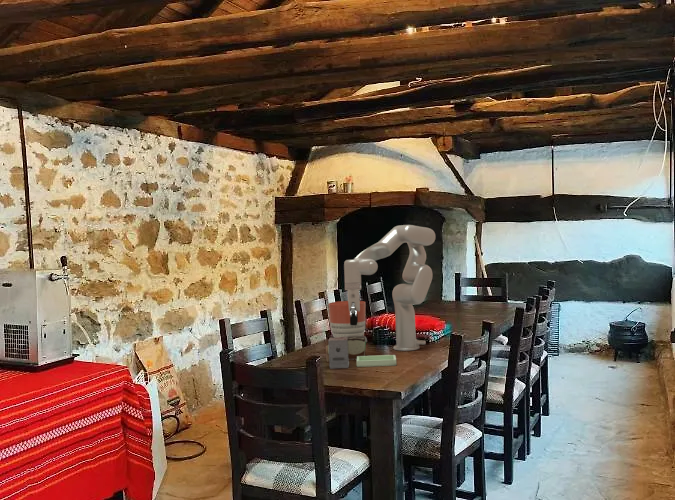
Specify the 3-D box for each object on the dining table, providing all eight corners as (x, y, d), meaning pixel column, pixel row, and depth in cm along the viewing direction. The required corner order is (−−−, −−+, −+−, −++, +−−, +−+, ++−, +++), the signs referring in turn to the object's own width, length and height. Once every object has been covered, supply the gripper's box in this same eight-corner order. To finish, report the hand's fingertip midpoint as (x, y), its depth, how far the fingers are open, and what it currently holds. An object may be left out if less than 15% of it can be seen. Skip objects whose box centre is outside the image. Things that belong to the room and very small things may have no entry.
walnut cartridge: (337, 359, 279) (337, 344, 278) (337, 362, 274) (336, 346, 273) (326, 360, 279) (326, 345, 279) (326, 362, 274) (325, 347, 274)
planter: (365, 339, 331) (364, 300, 330) (368, 345, 311) (366, 303, 311) (329, 341, 330) (328, 301, 330) (330, 347, 311) (328, 305, 310)
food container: (371, 357, 281) (370, 335, 281) (367, 359, 276) (366, 337, 276) (345, 356, 286) (344, 335, 285) (341, 359, 280) (340, 337, 280)
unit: (349, 364, 268) (347, 336, 268) (348, 368, 259) (347, 340, 259) (330, 364, 268) (328, 337, 268) (328, 369, 260) (327, 340, 259)
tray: (395, 360, 271) (395, 354, 271) (396, 365, 260) (396, 359, 260) (357, 361, 272) (356, 356, 272) (356, 367, 261) (356, 361, 261)
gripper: (360, 287, 271) (362, 326, 271) (361, 285, 288) (362, 321, 288) (344, 288, 272) (345, 326, 272) (345, 285, 289) (346, 321, 289)
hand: (354, 323), depth 280 cm, fingers open, 9 cm apart
